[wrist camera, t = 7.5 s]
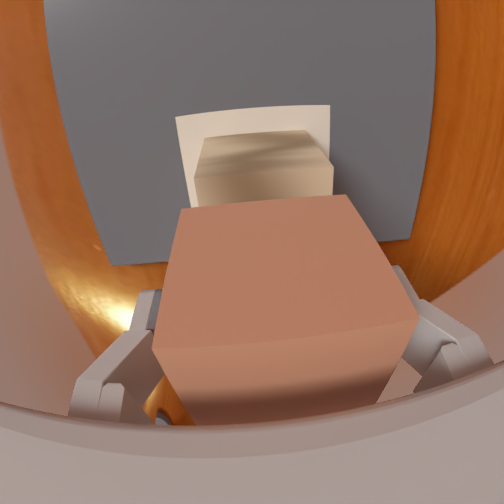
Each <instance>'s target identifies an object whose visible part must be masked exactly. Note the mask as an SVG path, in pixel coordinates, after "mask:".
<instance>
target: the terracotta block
mask: <svg viewBox="0 0 504 504" xmlns="http://www.w3.org/2000/svg"><path fill="white" fill-rule="evenodd" d="M419 319H420V317H419V315H418V313H417V311H416V309H415V307H414V306H413V304H412V302H411V300H410V298H409V296H408V294H407V293H406V291H405V289H404V287H403V285H402V284H401V282H400V280H399V278H398V277H397V275H396V273H395V271H394V270H393V268H392V266H391V265H390V263H389V261H388V259H387V258H386V256H385V254H384V253H383V251H382V250H381V248H380V246H379V245H378V243H377V241H376V240H375V238H374V237H373V235H372V233H371V232H370V230H369V229H368V227H367V226H366V224H365V222H364V221H363V219H362V218H361V216H360V215H359V213H358V212H357V210H356V209H355V207H354V206H353V204H352V203H351V201H350V200H349V198H348V197H347V195H346V194H344V195H327V196H312V197H298V198H285V199H273V200H261V201H250V202H240V203H230V204H220V205H210V206H201V207H192V208H184V209H181V212H180V216H179V220H178V224H177V228H176V232H175V236H174V241H173V245H172V249H171V253H170V258H169V262H168V267H167V271H166V276H165V281H164V285H163V290H162V295H161V300H160V305H159V310H158V315H157V321H156V326H155V332H154V337H153V343H152V351H153V353H154V355H155V356H156V358H157V360H158V362H159V364H160V366H161V367H162V369H163V371H164V373H165V375H166V376H167V378H168V380H169V382H170V383H171V385H172V387H173V389H174V390H175V392H176V394H177V395H178V397H179V399H180V400H181V402H182V404H183V405H184V407H185V408H186V410H187V412H188V413H189V415H190V416H191V418H192V420H193V421H194V423H195V424H196V426H201V425H230V424H246V423H259V422H269V421H279V420H287V419H295V418H302V417H309V416H316V415H322V414H328V413H333V412H339V411H344V410H349V409H354V408H359V407H363V406H368V405H372V404H375V403H376V402H377V400H378V398H379V396H380V395H381V393H382V391H383V390H384V388H385V386H386V384H387V383H388V381H389V379H390V377H391V375H392V374H393V372H394V370H395V368H396V366H397V364H398V362H399V360H400V358H401V356H402V355H403V353H404V351H405V349H406V347H407V345H408V342H409V340H410V338H411V336H412V334H413V332H414V330H415V328H416V326H417V323H418V321H419Z"/></svg>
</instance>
